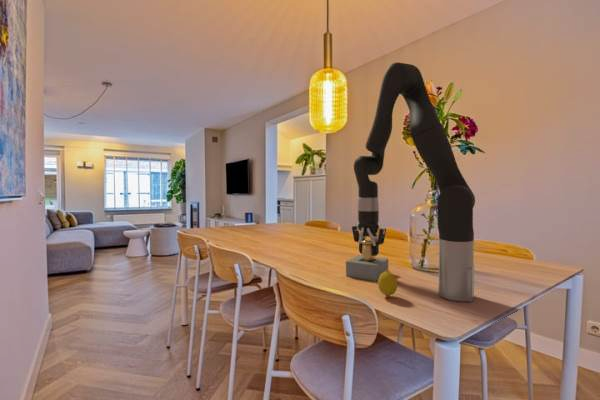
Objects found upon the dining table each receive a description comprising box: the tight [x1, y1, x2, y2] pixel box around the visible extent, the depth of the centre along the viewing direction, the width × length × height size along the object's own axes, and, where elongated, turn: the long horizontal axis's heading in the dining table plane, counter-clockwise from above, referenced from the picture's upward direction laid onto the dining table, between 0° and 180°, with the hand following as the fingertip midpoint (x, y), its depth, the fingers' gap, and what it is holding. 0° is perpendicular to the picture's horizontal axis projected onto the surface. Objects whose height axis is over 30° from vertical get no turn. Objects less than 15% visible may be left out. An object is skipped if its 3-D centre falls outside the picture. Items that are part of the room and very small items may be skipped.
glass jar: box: [361, 239, 376, 263], centre depth 117 cm, size 5×5×11 cm
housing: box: [345, 254, 389, 282], centre depth 117 cm, size 12×12×6 cm
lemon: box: [377, 270, 398, 298], centre depth 93 cm, size 6×6×8 cm
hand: (368, 254), depth 117 cm, fingers closed on glass jar, 5 cm apart
